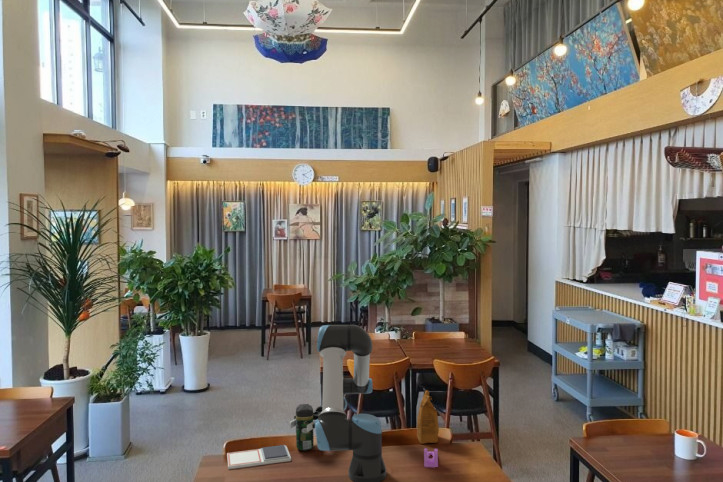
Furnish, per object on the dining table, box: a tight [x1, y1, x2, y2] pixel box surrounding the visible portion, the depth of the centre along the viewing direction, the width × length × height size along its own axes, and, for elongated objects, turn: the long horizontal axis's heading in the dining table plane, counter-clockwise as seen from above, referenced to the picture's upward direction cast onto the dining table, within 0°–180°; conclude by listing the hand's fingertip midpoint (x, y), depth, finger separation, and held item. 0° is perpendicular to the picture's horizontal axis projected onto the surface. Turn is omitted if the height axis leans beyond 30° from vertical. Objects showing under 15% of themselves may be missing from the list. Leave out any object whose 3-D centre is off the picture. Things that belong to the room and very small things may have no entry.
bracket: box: [423, 447, 439, 468], centre depth 214 cm, size 13×6×7 cm, turn 173°
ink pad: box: [260, 444, 291, 461], centre depth 220 cm, size 13×11×1 cm
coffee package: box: [416, 390, 440, 445], centre depth 237 cm, size 10×12×22 cm
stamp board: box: [226, 445, 292, 470], centre depth 218 cm, size 14×26×1 cm, turn 107°
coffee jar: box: [295, 403, 315, 451], centre depth 228 cm, size 10×8×19 cm
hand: (298, 426), depth 224 cm, fingers closed on coffee jar, 9 cm apart
